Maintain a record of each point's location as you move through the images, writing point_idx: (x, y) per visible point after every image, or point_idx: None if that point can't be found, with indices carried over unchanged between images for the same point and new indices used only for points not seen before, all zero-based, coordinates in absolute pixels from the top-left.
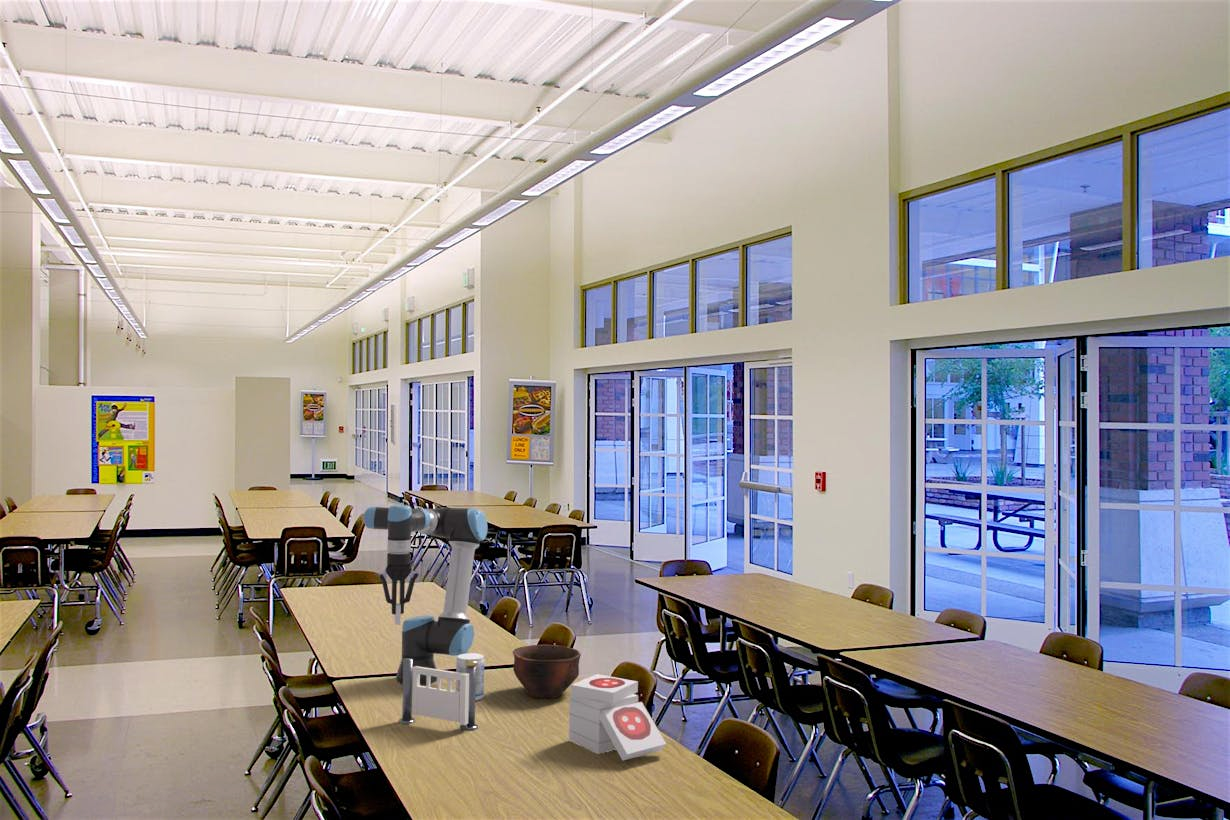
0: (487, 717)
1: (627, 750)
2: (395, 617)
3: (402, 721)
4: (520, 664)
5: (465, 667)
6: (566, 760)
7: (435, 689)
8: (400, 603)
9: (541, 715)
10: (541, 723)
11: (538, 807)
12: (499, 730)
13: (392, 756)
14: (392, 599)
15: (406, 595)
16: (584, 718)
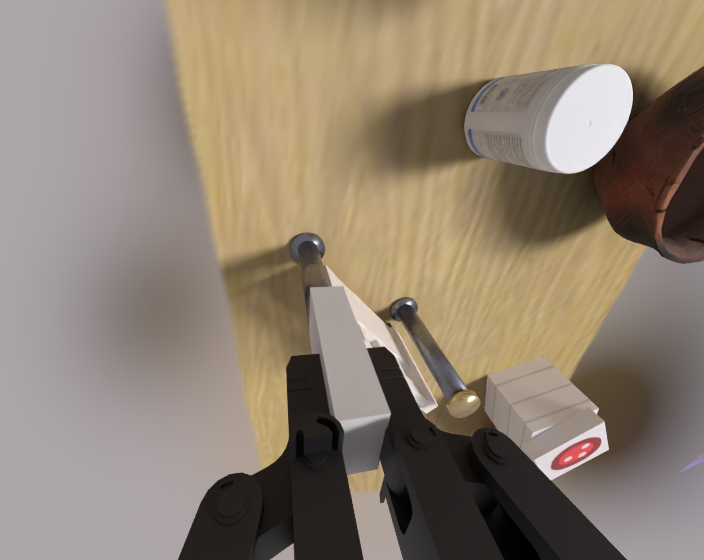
0: (453, 266)
1: None
2: (314, 353)
3: (297, 257)
4: (644, 196)
5: (529, 161)
6: (448, 419)
7: (369, 341)
8: (383, 469)
9: (527, 280)
10: (503, 313)
11: (371, 489)
12: (437, 327)
13: (257, 391)
14: (294, 558)
15: (519, 521)
16: (508, 425)
